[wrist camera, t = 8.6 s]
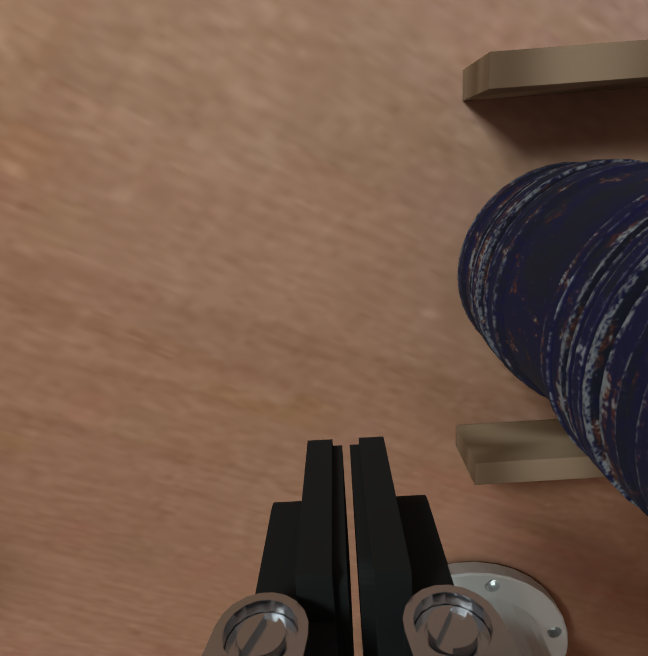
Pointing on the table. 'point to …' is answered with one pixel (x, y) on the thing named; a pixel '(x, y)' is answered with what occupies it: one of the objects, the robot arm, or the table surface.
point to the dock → (525, 80)
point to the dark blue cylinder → (572, 302)
